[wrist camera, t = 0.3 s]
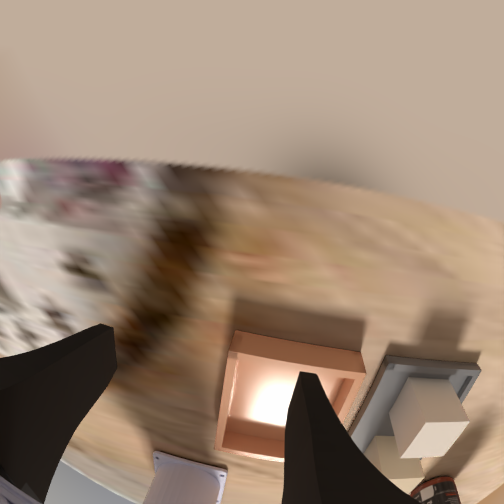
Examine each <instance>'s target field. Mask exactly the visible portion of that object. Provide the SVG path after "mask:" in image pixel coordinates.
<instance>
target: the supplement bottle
mask: <svg viewBox="0 0 504 504" xmlns="http://www.w3.org/2000/svg"><path fill="white" fill-rule="evenodd" d="M410 496H411V497H413V498H414V499H416V500H417V501H419V502H420V503H422V504H461V502H460V499H459V495H458V491H457V488H456V485H455V482H454V480H453V478H451V477H447V476H445V477H438V478H435V479H432V480H429V481H427V482H424V483H423V484H421V485H419V486H418V487H417V488H415V489H414V490H413V491H412V493H411V495H410Z"/></svg>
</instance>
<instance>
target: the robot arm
mask: <svg viewBox="0 0 504 504" xmlns="http://www.w3.org/2000/svg"><path fill="white" fill-rule="evenodd" d="M116 369H117V361H116V351H115V341H114V328H113V327H110V326H107V325H104V324H98V325H95V326H93V327H90V328H88V329H85V330H83V331H81V332H78V333H76V334H74V335H71V336H69V337H67V338H64V339H62V340H60V341H57V342H55V343H52V344H49V345H47V346H44V347H41V348H38V349H36V350H32V351H29V352H26V353H22V354H18V355H14V356H9V357H3V358H0V504H44V501H45V498H46V495H47V492H48V489H49V486H50V483H51V480H52V478H53V475H54V473H55V470H56V468H57V466H58V463H59V461H60V459H61V457H62V455H63V453H64V451H65V449H66V447H67V445H68V443H69V441H70V439H71V437H72V435H73V434H74V432H75V430H76V429H77V427H78V425H79V424H80V423H81V421H82V420H83V418H84V417H85V416H86V414H87V413H88V412H89V410H90V409H91V408H92V406H93V405H94V404H95V402H96V401H97V400H98V398H99V397H100V396H101V394H102V393H103V392H104V390H105V389H106V387H107V386H108V384H109V382H110V380H111V379H112V377H113V375H114V373H115V371H116ZM153 460H154V468H155V477H154V479H153V481H152V484H151V486H150V488H149V490H148V493H147V495H146V497H145V500H144V502H143V504H220V503H221V499H222V495H223V491H224V486H225V482H226V477H227V473H228V471H227V470H226V469H223V468H218V467H214V466H210V465H205V464H201V463H197V462H194V461H190V460H186V459H183V458H179V457H176V456H172V455H169V454H166V453H163V452H159V451H154V452H153ZM282 504H422V503H420V502H419V501H417V500H416V499H414V498H413V497H411V496H410V495H408V494H407V493H405V492H404V491H402V490H401V489H400V488H398V487H397V486H396V485H395V484H393V483H392V482H391V481H390V480H389V479H387V478H386V477H385V476H384V475H383V474H382V473H381V472H380V471H379V470H378V469H377V468H376V467H375V466H374V465H373V464H372V463H371V462H370V461H369V460H368V459H367V458H366V456H365V455H364V454H363V453H362V452H361V450H360V449H359V448H358V447H357V445H356V444H355V443H354V441H353V440H352V438H351V437H350V435H349V434H348V432H347V431H346V429H345V428H344V426H343V425H342V423H341V421H340V420H339V418H338V416H337V414H336V413H335V411H334V409H333V407H332V405H331V403H330V401H329V399H328V397H327V395H326V393H325V391H324V389H323V386H322V384H321V382H320V379H319V377H318V375H317V374H316V373H309V372H303V371H300V372H299V375H298V378H297V382H296V385H295V388H294V391H293V394H292V397H291V400H290V404H289V407H288V410H287V418H286V425H285V442H284V489H283V497H282Z"/></svg>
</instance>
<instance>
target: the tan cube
mask: <svg viewBox="0 0 504 504" xmlns="http://www.w3.org/2000/svg"><path fill="white" fill-rule="evenodd" d="M364 455H365V456H366V458H367V459H368V460H369V461H370V462H371V463H372V464H373V465H374V466H375V467H376V468H377V469H378V470H379V471H380V472H381V473H382V474H383V475H384V476H385V477H386V478H387V479H389V480H390V481H391V482H392V483H393V484H395V485H396V486H397V487H398V488H400V489H401V490H402V491H404V492H405V493H407V494H409V493H410V492H411V491H412V490H413V489H414V488H415V487H416V486H417V485H418V484H419V483H420V482H421V481H422V480H423V479H424V478H425V477H424V473H423V469H422V465H421V462H420V458H400V456H399V452H398V448H397V443H396V439H395V436H375V437H374V438H373V440H372V441H371V443H370V444H369V446H368V448H367V449H366V451H365V452H364Z"/></svg>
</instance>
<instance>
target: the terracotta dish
mask: <svg viewBox="0 0 504 504" xmlns="http://www.w3.org/2000/svg"><path fill="white" fill-rule="evenodd" d="M300 371H303V372H309V373H316V374H317V375H318V377H319V379H320V382H321V384H322V386H323V389H324V391H325V393H326V395H327V397H328V399H329V401H330V403H331V405H332V407H333V409H334V411H335V413H336V414H337V416H338V418H339V420H340V421H341V423H343V421H344V420H345V418H346V416H347V414H348V412H349V410H350V408H351V406H352V403H353V401H354V399H355V397H356V395H357V393H358V391H359V389H360V387H361V384H362V382H363V380H364V378H365V375H366V370H365V366H364V362H363V358H362V355H361V352H357V351H350V350H344V349H337V348H330V347H324V346H318V345H312V344H306V343H300V342H294V341H289V340H283V339H278V338H273V337H268V336H262V335H257V334H252V333H248V332H243V331H238V330H235V333H234V336H233V339H232V342H231V345H230V348H229V351H228V358H227V365H226V371H225V378H224V384H223V391H222V398H221V405H220V411H219V418H218V425H217V432H216V439H215V445H214V449H215V450H219V451H223V452H228V453H233V454H237V455H243V456H248V457H253V458H259V459H265V460H271V461H278V462H284V442H285V425H286V418H287V410H288V407H289V404H290V400H291V397H292V394H293V391H294V388H295V385H296V382H297V378H298V375H299V372H300Z"/></svg>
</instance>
